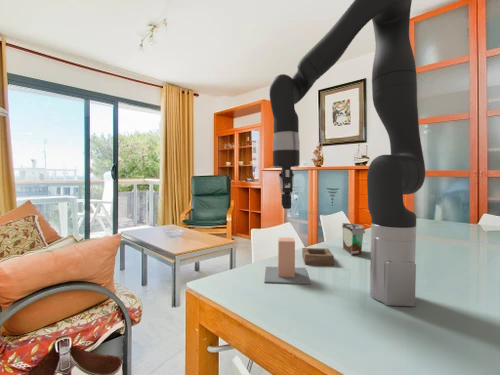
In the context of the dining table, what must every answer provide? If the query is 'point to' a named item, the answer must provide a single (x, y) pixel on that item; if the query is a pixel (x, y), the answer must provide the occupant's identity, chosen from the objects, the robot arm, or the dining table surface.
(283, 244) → the terracotta block
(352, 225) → the food container
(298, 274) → the rubber mat
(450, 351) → the dining table surface
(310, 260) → the walnut pocket
